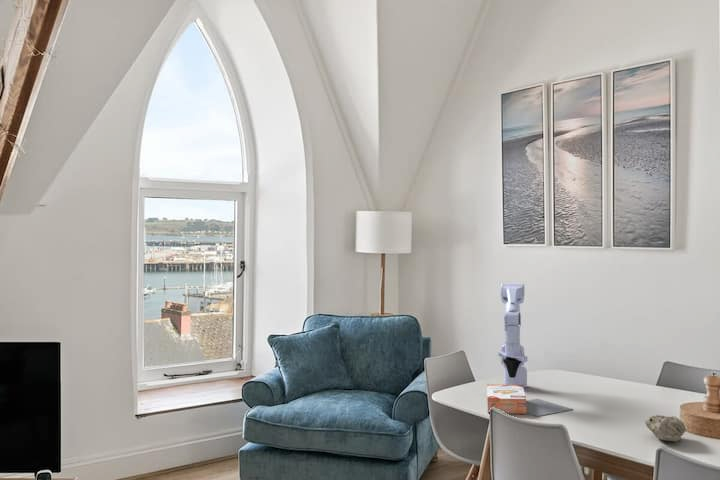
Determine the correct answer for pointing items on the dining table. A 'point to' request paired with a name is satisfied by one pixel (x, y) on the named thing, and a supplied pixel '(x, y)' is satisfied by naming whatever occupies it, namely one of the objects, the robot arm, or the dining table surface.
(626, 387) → the dining table surface
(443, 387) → the dining table surface
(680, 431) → the pumice stone
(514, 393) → the cracker box
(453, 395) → the dining table surface
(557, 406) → the mat
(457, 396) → the dining table surface
